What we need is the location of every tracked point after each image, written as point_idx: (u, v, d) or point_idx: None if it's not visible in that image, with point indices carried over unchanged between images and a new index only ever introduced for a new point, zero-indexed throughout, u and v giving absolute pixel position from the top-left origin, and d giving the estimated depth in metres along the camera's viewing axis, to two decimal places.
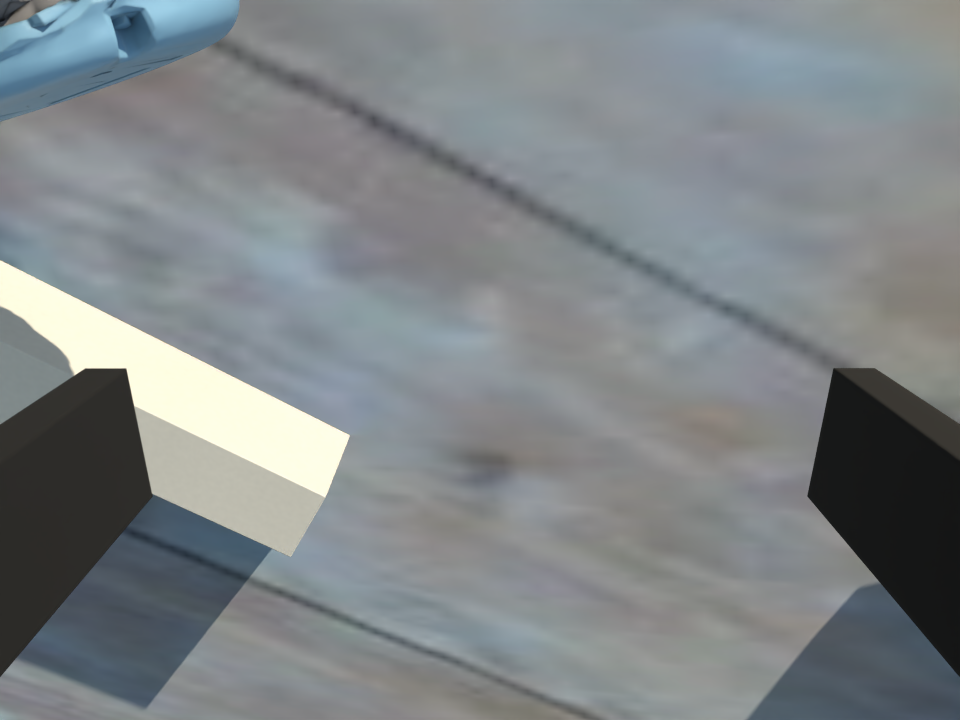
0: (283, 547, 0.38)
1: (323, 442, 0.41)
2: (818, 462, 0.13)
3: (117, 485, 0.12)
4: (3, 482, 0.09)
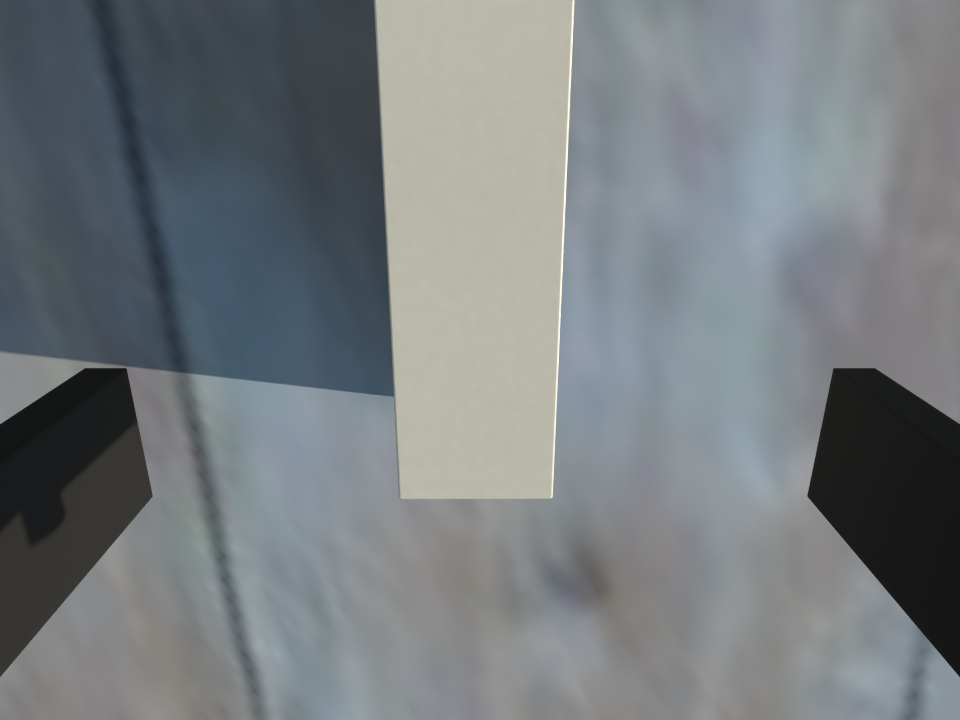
0: (411, 480, 0.20)
1: None
2: (819, 462, 0.13)
3: (117, 485, 0.12)
4: (3, 482, 0.09)
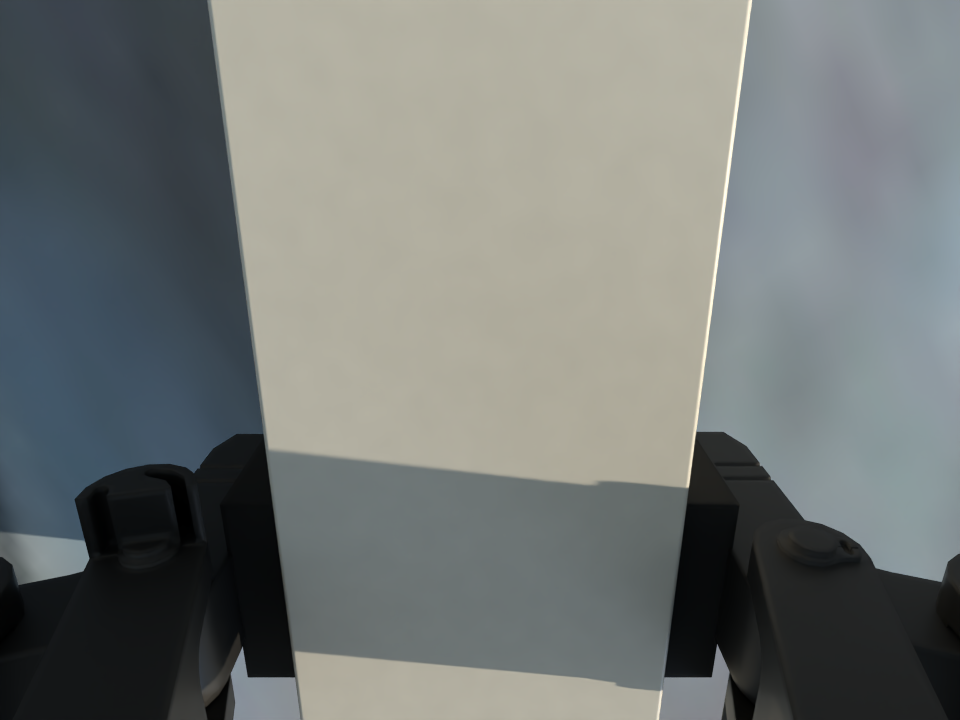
0: None
1: None
2: None
3: None
4: None
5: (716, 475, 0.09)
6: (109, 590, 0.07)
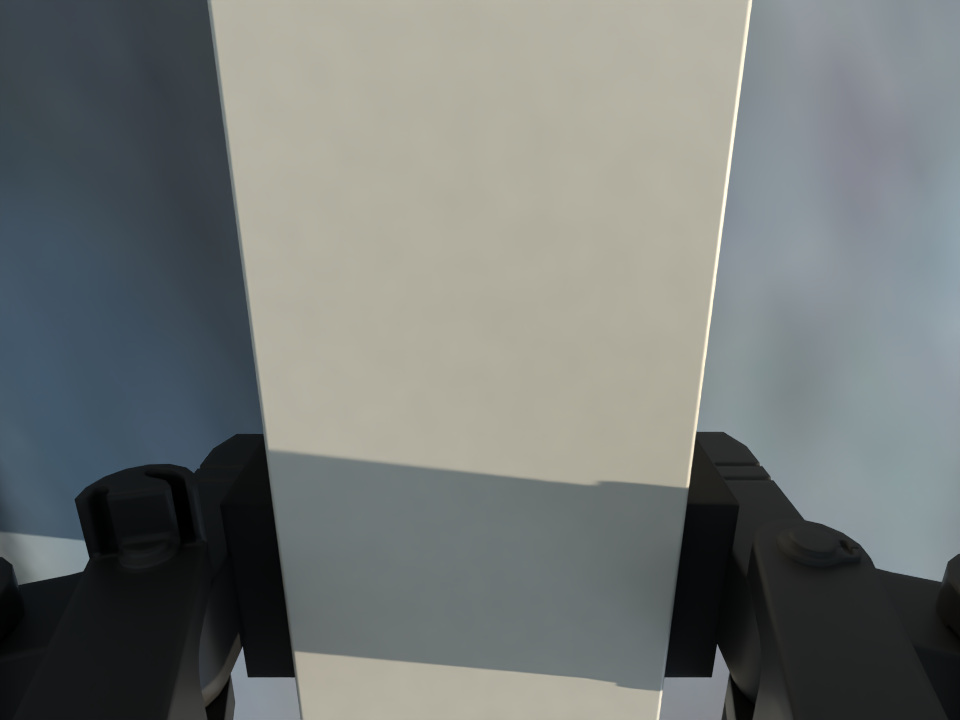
0: None
1: None
2: None
3: None
4: None
5: (716, 475, 0.09)
6: (109, 590, 0.07)
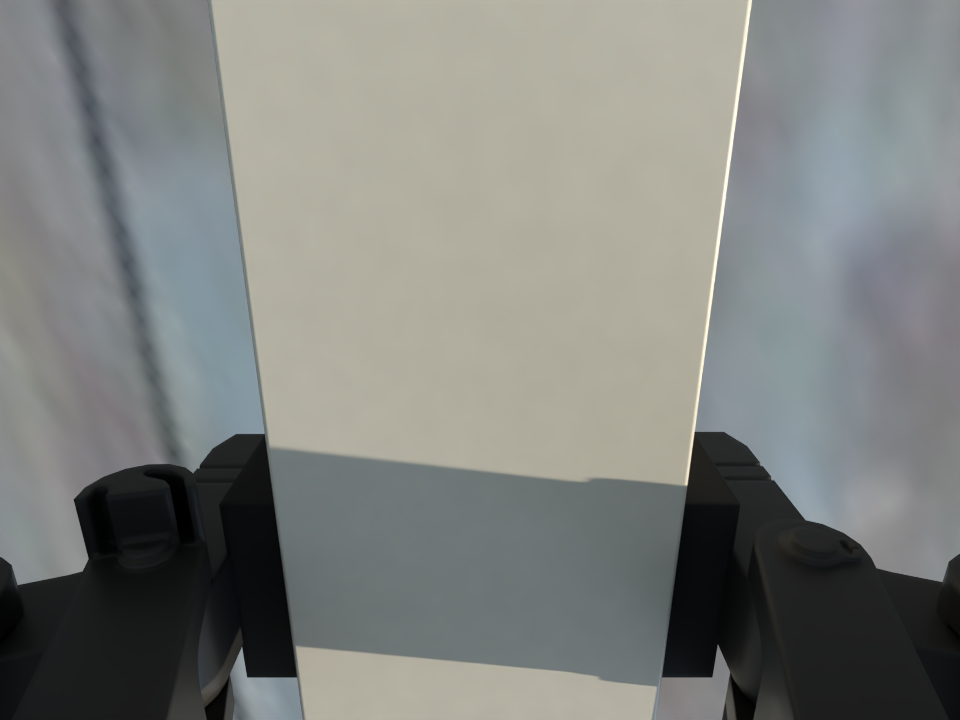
0: None
1: None
2: None
3: None
4: None
5: (716, 475, 0.09)
6: (109, 590, 0.07)
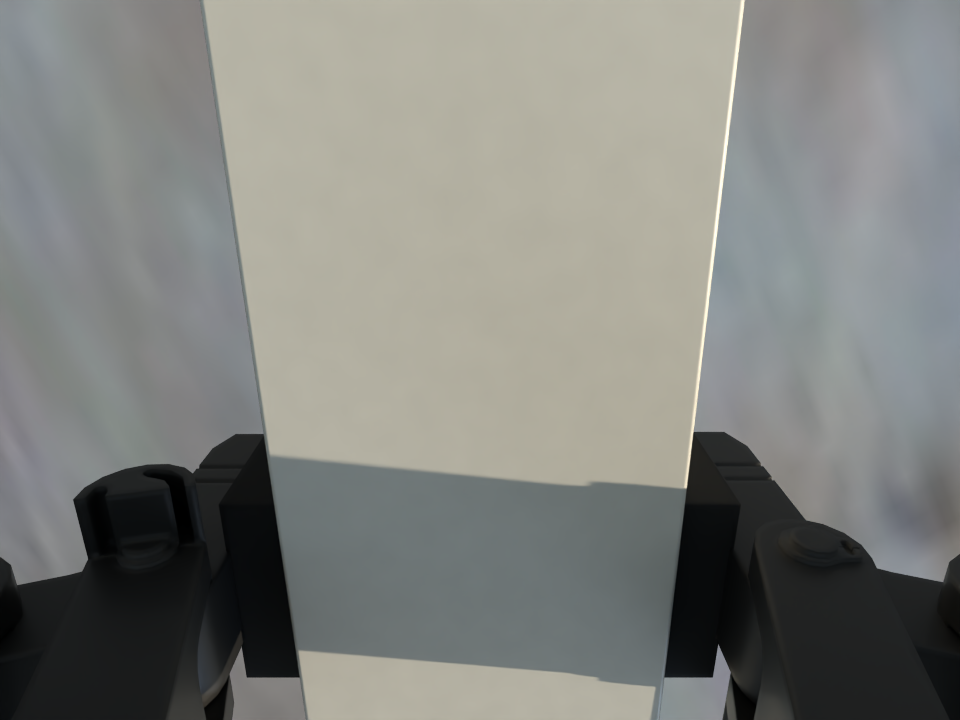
0: None
1: None
2: None
3: None
4: None
5: (717, 475, 0.09)
6: (108, 590, 0.07)
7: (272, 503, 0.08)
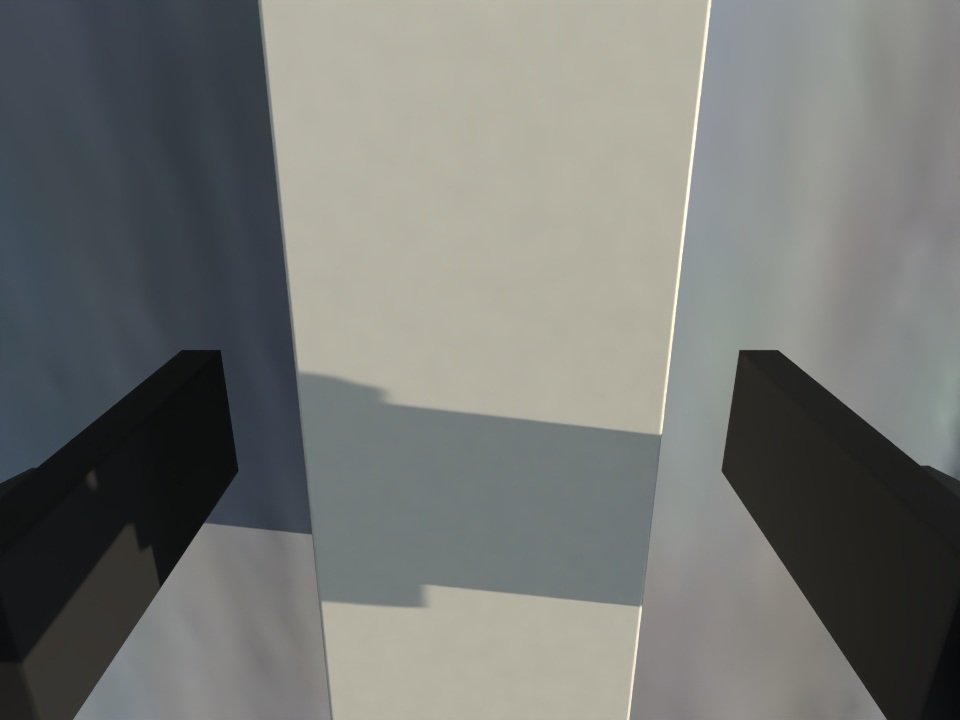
0: None
1: None
2: (729, 438, 0.13)
3: (214, 458, 0.13)
4: (138, 447, 0.10)
5: None
6: None
7: None
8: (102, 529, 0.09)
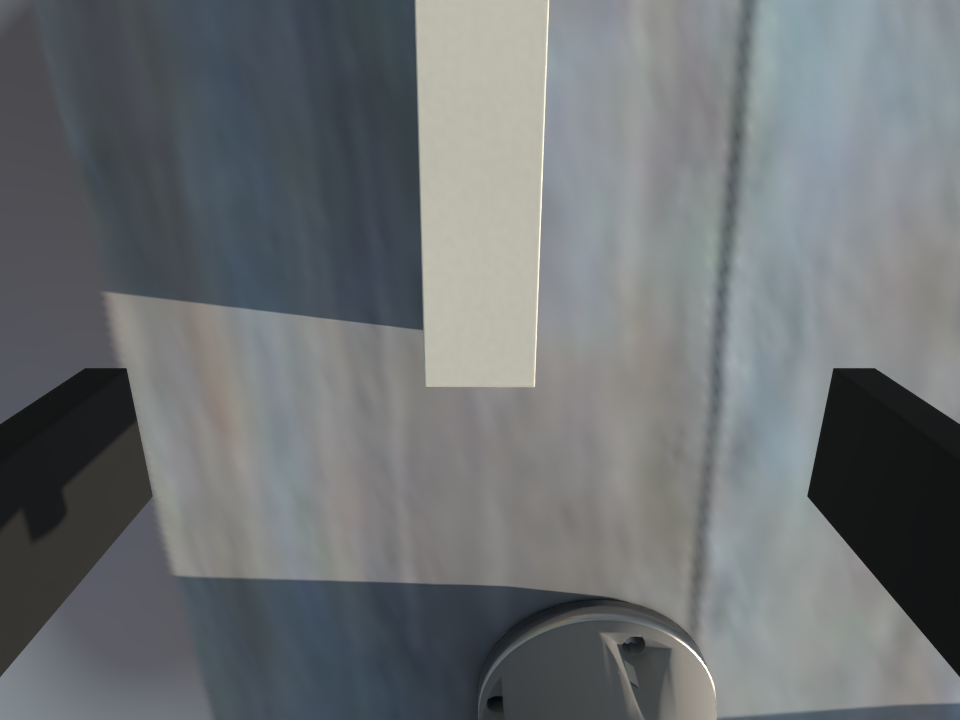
0: (433, 372, 0.28)
1: None
2: (818, 462, 0.13)
3: (117, 485, 0.12)
4: (3, 482, 0.09)
5: None
6: None
7: None
8: None
